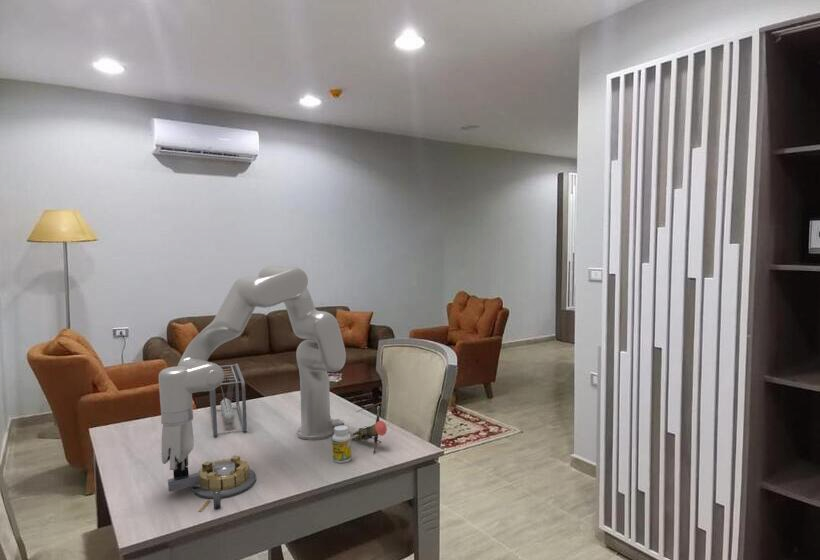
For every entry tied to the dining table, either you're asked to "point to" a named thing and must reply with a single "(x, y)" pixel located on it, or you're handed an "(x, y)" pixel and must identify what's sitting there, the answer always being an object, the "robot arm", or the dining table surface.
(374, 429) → the green toy propeller plane
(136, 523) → the dining table surface
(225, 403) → the newton's cradle
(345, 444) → the supplement bottle
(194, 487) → the housing
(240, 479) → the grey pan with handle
